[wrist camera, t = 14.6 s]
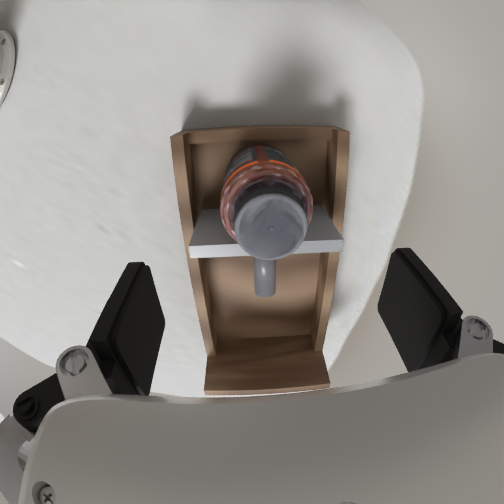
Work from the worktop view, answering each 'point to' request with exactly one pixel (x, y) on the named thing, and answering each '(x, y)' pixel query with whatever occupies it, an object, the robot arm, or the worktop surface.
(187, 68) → the worktop surface
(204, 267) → the pusher lane
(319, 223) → the pusher plate
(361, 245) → the worktop surface
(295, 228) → the supplement bottle
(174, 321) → the worktop surface
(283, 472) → the robot arm
